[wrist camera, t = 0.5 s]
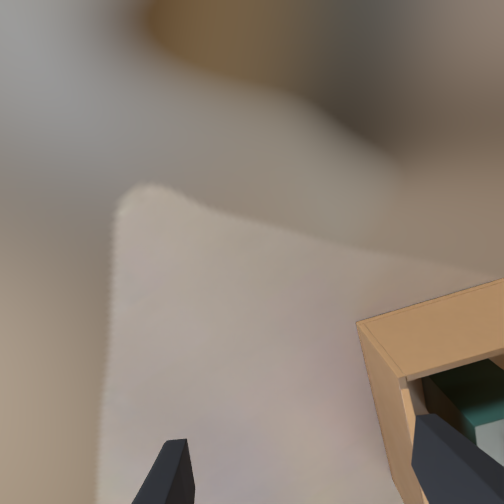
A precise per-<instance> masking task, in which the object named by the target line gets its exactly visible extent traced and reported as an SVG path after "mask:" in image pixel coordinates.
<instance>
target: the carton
mask: <svg viewBox="0 0 504 504" xmlns="http://www.w3.org/2000/svg"><path fill="white" fill-rule="evenodd" d="M356 326H357V330H358V334H359V338H360V343H361V347H362V351H363V356H364V360H365V364H366V368H367V373H368V377H369V381H370V385H371V390H372V394H373V398H374V402H375V407H376V411H377V415H378V419H379V424H380V428H381V432H382V437H383V441H384V445H385V449H386V454H387V458H388V462H389V466H390V471H391V475H392V479H393V481H394V483H395V485H396V487H397V489H398V491H399V493H400V495H401V497H402V499H403V501H404V503H405V504H423V499H422V494H421V489H420V484H419V481H418V479H417V477H416V475H415V473H414V470H413V468H412V466H411V460H412V450H413V449H412V444H411V439H410V434H409V429H408V424H407V419H406V414H405V409H404V404H403V399H402V394H401V389H409V392H410V396H411V400H412V404H413V408H414V413H415V417H416V415H425V414H430V413H429V412H428V411H427V408H426V403H425V397H424V391H423V385H422V380H421V377H425V376H428V375H432V374H435V373H439V372H442V371H446V370H449V369H452V368H456V367H459V366H463V365H466V364H470V363H473V362H477V361H480V360H484V359H487V358H489V359H490V360H491V361H492V362H494V363H495V364H496V365H498V366H499V367H500V368H502V369H503V370H504V278H502V279H499V280H495V281H492V282H489V283H485V284H482V285H479V286H475V287H472V288H469V289H465V290H462V291H459V292H455V293H452V294H449V295H445V296H442V297H439V298H435V299H432V300H429V301H425V302H422V303H419V304H415V305H412V306H409V307H405V308H402V309H399V310H395V311H392V312H388V313H385V314H382V315H378V316H375V317H372V318H368V319H365V320H362V321H358V322H356Z"/></svg>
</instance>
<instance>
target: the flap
mask: <svg viewBox="0 0 504 504" xmlns="http://www.w3.org/2000/svg"><path fill="white" fill-rule="evenodd" d="M401 394H402V399H403V404H404V409H405V414H406V419H407V424H408V429H409V434H410V439H411V444H412V449H413V440H414V430H415V420H416V417H415V413H414V408H413V404H412V400H411V396H410V392H409V389H401ZM420 489H421V494H422V499H423V504H429V503H428V501H427V499H426V496H425V494H424V492H423V490H422V488H421V486H420Z"/></svg>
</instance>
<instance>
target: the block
mask: <svg viewBox="0 0 504 504" xmlns="http://www.w3.org/2000/svg"><path fill="white" fill-rule="evenodd" d="M421 380H422V385H423V391H424V397H425V403H426V408H427V411H428V412H429V413H430V414H436V415H438V416H439V417H440V418H442V419H443V420H444V421H446V422H447V423H448V424H449V425H451V426H452V427H453V428H455V429H456V430H457V431H458V432H460V433H461V434H462V435H463V436H465V437H466V438H467V439H469V440H470V441H471V442H472V443H474V444H475V445H476V446H478V447H479V448H480V449H481V450H483V451H484V452H485V453H487V454H488V455H489V456H490V457H492V458H493V459H494V460H496V461H497V462H498V463H500V464H501V465H502V466H504V370H503V369H502V368H500V367H499V366H498V365H496V364H495V363H494V362H492V361H491V360H490V359H489V358H487V359H484V360H480V361H477V362H473V363H470V364H466V365H463V366H459V367H456V368H452V369H449V370H446V371H442V372H439V373H435V374H432V375H428V376H425V377H421Z"/></svg>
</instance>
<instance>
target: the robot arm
mask: <svg viewBox="0 0 504 504" xmlns="http://www.w3.org/2000/svg"><path fill="white" fill-rule="evenodd" d="M411 466H412V468H413V470H414V473H415V475H416V477H417V479H418V481H419V484H420V486H421V488H422V490H423V492H424V494H425V496H426V499H427V501H428V503H429V504H504V466H502V465H501V464H500V463H498V462H497V461H496V460H494V459H493V458H492V457H490V456H489V455H488V454H487V453H485V452H484V451H483V450H481V449H480V448H479V447H478V446H476V445H475V444H474V443H472V442H471V441H470V440H469V439H467V438H466V437H465V436H463V435H462V434H461V433H460V432H458V431H457V430H456V429H455V428H453V427H452V426H451V425H449V424H448V423H447V422H446V421H444V420H443V419H442V418H440V417H439V416H438V415H436V414H425V415H416V420H415V430H414V440H413V450H412V460H411ZM194 497H195V484H194V478H193V472H192V466H191V460H190V455H189V449H188V443H187V439H178V440H168V441H166V442H165V443H164V445H163V447H162V449H161V451H160V453H159V455H158V457H157V459H156V460H155V462H154V464H153V466H152V468H151V470H150V472H149V474H148V476H147V477H146V479H145V481H144V483H143V485H142V486H141V488H140V490H139V492H138V494H137V495H136V497H135V499H134V500H133V502H132V504H194Z"/></svg>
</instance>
